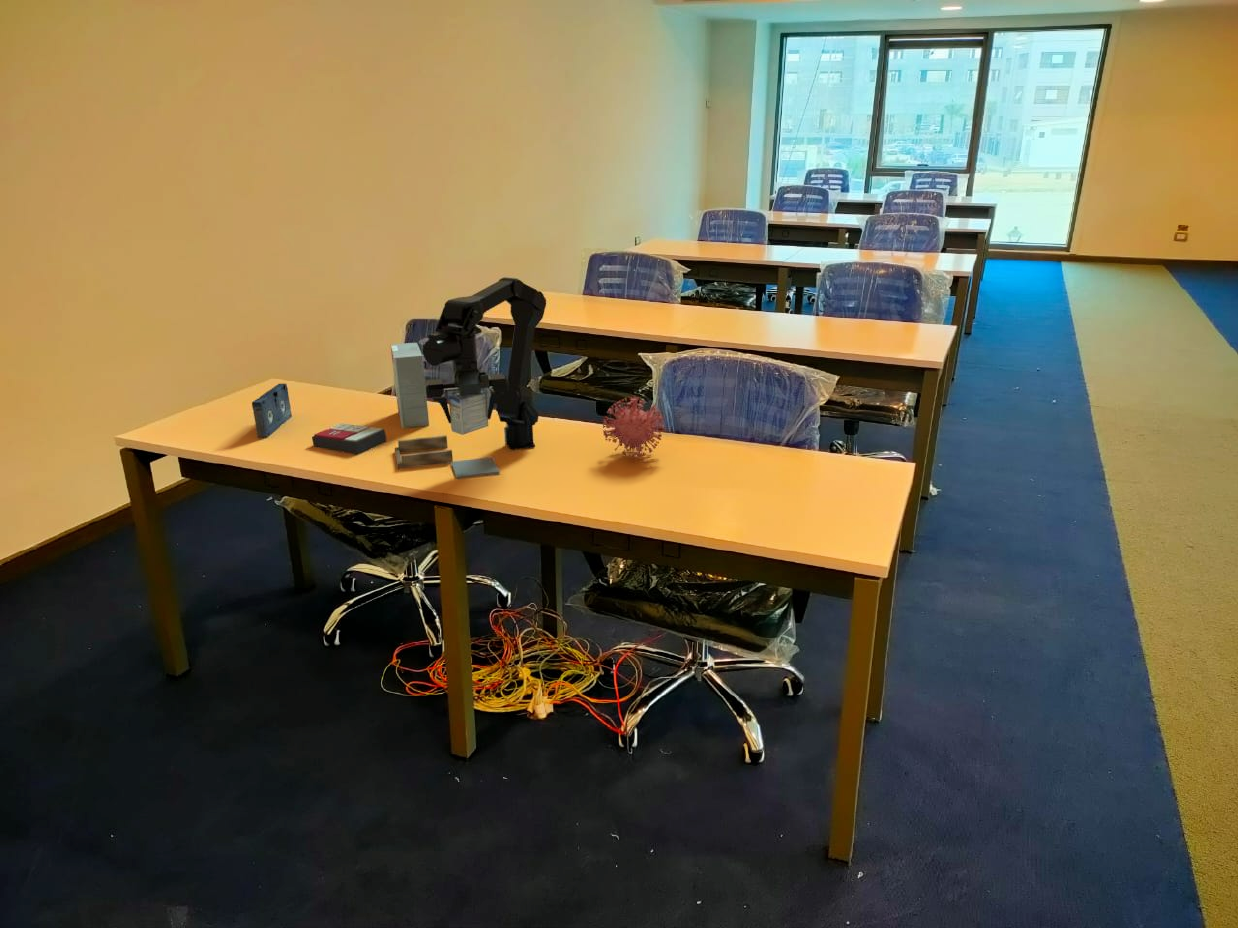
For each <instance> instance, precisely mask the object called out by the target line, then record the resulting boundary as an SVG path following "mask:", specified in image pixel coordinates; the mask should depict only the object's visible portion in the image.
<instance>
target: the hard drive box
mask: <svg viewBox="0 0 1238 928" xmlns="http://www.w3.org/2000/svg"><path fill="white" fill-rule="evenodd" d="M389 346H390V352H391V353H390V354H391V360H392V368H393V370H392V371H393V379H394V387H395V396H396V404H397V412H398V417H399V419H400V420H399V421H400V426H401V428H402V429H406V428H407V429H408V428H417V427H423V426H425V427H426V426H427V427H428V426H429V425H430V419H429V418H430V417H429V409H428V399H427V396H426V393H425V385H424V383H425V382H426V379H425V369H424V356H423V353H422V351H421V349H420V346H419V344H418V342H408V343H396V344H395V343H394V344H390V345H389Z"/></svg>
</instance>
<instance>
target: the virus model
mask: <svg viewBox="0 0 1238 928" xmlns="http://www.w3.org/2000/svg"><path fill="white" fill-rule="evenodd" d="M627 398H629V400H630V401H628V402H627ZM639 399H640V397H639V396H629V397H624V398H622V399H620V400H619V401H616V402H615V403H613V405H611V407H609V408H608V410H607V411H606V414H609V415H613V417H615V418H616V419H615V418H611V417H609V416H606V415H605V416H604V417H605V418H603V422H602V429H603V430H602V431H603V436H604V437H605V441H606V442H607V441H608V442H609V443H610V442H611V440H612V442H613V443H614V444H617V441H618V445H617V447H616V448H614V451H617V450H618V448H619V447H623V446H624V450H623V451H622V452H621V454H622V455H623V456H626V454H627V453H626V452H629V454H628V455H627V458H628V459H634V458H635V456H636V457H638V458H641V457H643V456H645V455H646V453H645V452H643V450H644V451H646V452H647V450H648V451H649V454H650V453H652V452H653V450H652V448H650V447H649V445H651V447H653V449H654V450H656V449H657V447H658V444H660V441H661V440H662V438H661V437H663V436H662V433H663V432H665V430H663V429H665V424H664V418H663V416H662V414H661V412H660V411H659V410H658V409H657V407H656V405H653V406H651V408H650V409H649V410H647V409H646V411H644V410H643V409H644V406H645V404H646V403H647V401H646V400H645V399H644V398H641V400H639ZM624 401H625V402H626V403H625V402H624ZM638 402H639V404H638ZM642 403H643V404H642ZM625 404H626V405H625ZM617 405H618V406H617ZM614 406H615V407H614ZM613 409H614V410H615V411H614V410H613ZM656 424H662V425H656ZM604 428H606V429H610V428H611V429H610V430H606V429H604ZM661 429H662V430H661ZM656 433H658V434H656ZM608 437H609V438H608ZM656 439H657V440H658V441H657V440H656ZM648 444H649V445H648ZM631 453H632V454H631Z"/></svg>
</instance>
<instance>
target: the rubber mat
mask: <svg viewBox="0 0 1238 928" xmlns="http://www.w3.org/2000/svg"><path fill="white" fill-rule="evenodd" d="M450 465H451V467H452V469H453V473H454V475H455V478H456V480H457V479H459V480H460V479H466V478H475V477H484V476H483V475H485V476H491V475H490V474H493V475H500V469H499V467H498V466H497V464H496V462H495V460H494V457H493V456H489V457H482V458H471V459H464V460H457V461H456V460H455V461H454V460H453V462H451V463H450Z"/></svg>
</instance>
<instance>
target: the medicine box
mask: <svg viewBox="0 0 1238 928" xmlns="http://www.w3.org/2000/svg"><path fill="white" fill-rule="evenodd" d="M487 395H488V394H487V392H486V391H483V390H481V394H479V395H467V396H460V394H459V392H458V393H455V394H453V395H449V396H448V409H449V413H450V418H451V423H450V429H451V431H452V432H453V433H456V434H459V435H462V436H464V435H467V434H469V433H472V432H474V431H475V432H476V431H478V430H481V429H484V428H487V427H489V419H488V411H487Z"/></svg>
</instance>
